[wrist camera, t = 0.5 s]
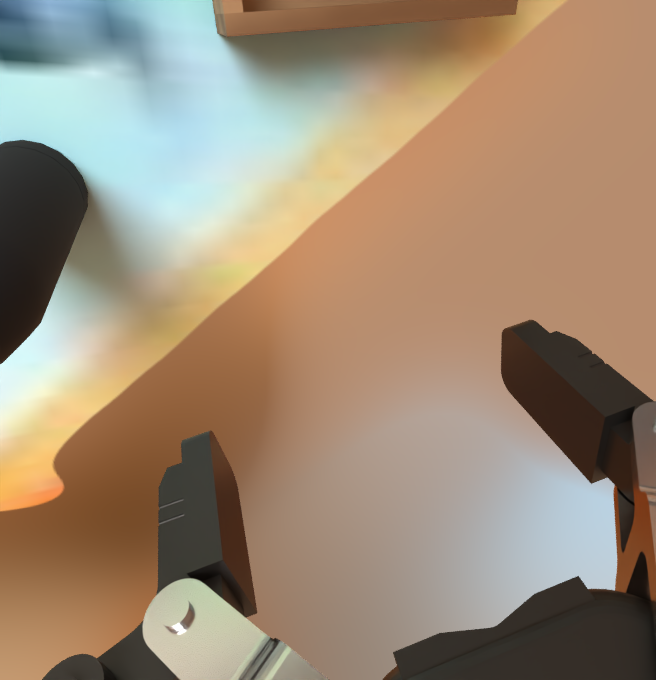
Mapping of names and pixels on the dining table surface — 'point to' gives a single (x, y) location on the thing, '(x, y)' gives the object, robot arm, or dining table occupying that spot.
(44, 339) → the dining table surface
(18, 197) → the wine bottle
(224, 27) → the walnut crate
